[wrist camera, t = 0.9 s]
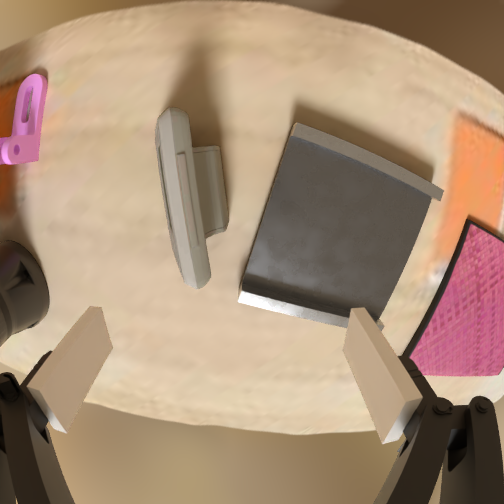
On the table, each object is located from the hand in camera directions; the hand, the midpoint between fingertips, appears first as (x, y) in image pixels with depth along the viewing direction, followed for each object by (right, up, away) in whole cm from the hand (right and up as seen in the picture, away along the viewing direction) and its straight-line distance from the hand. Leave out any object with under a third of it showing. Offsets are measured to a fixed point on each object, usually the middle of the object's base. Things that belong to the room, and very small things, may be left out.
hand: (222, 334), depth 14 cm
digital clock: (-6, +11, +18) cm, 22 cm away
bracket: (-30, +23, +14) cm, 41 cm away
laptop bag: (+49, -8, +26) cm, 56 cm away
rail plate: (+12, +6, +20) cm, 24 cm away
